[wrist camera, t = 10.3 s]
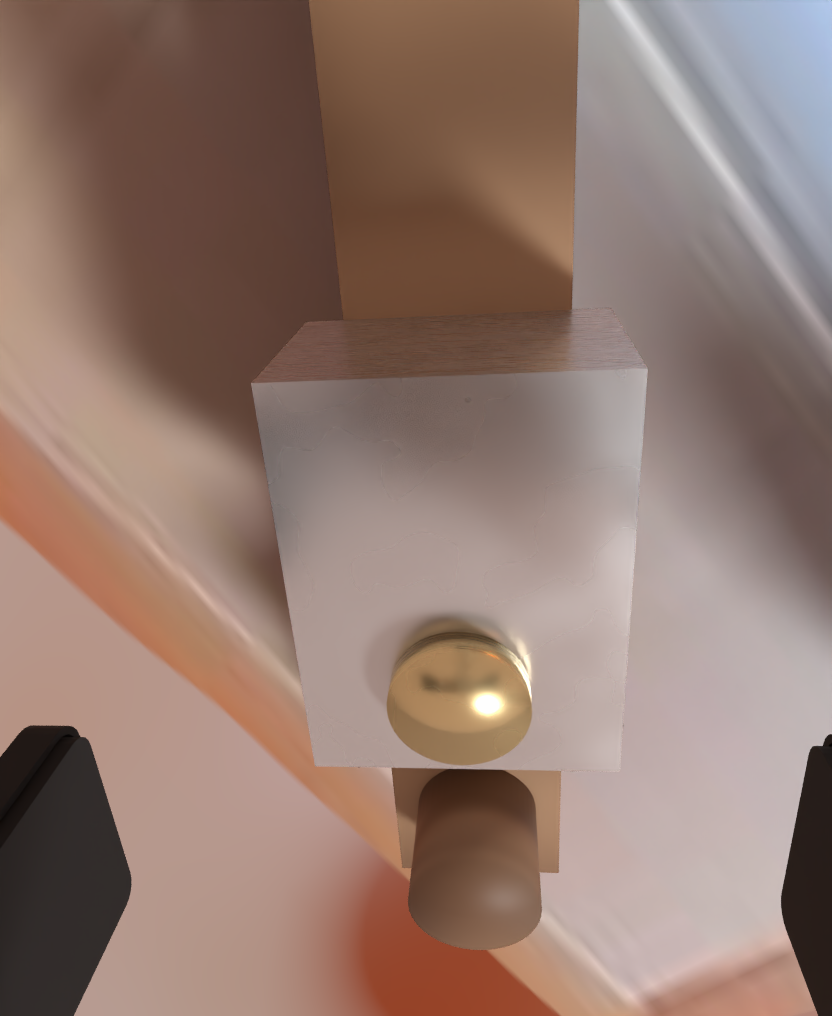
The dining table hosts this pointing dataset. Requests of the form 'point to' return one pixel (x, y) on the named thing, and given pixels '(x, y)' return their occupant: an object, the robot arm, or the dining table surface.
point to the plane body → (456, 291)
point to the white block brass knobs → (458, 534)
